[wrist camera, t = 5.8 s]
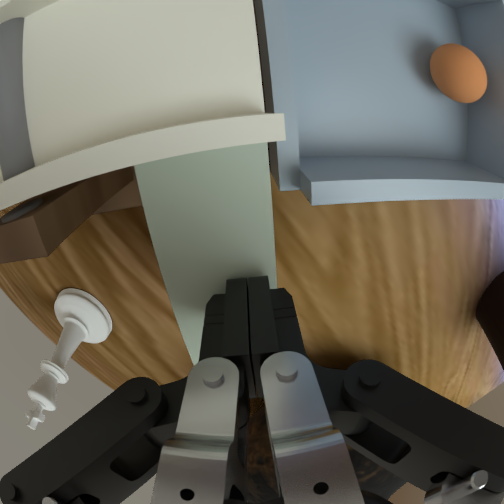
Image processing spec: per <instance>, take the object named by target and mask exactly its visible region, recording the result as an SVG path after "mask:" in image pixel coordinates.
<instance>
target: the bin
mask: <svg viewBox="0 0 504 504" xmlns="http://www.w3.org/2000/svg"><path fill="white" fill-rule="evenodd" d="M254 3H255V11H256V20H257V28H258V37H259V46H260V55H261V64H262V74H263V84H264V94H265V105H266V113H284V120H285V134H286V140H285V141H274V142H269V151H270V164H271V173H272V175H273V177H274V179H275V181H276V184H277V186H278V188H279V190H280V191H288V190H301V191H302V192H303V194H304V195H305V197H306V198H307V199H308V201H309V202H310V204H311V205H312V206H313V205H327V204H341V203H358V202H377V201H399V200H432V199H504V0H254ZM448 43H454V44H459V45H462V46H464V47H466V48H468V49H469V50H471V51H472V52H473V53H474V54H475V55H476V56H477V57H478V58H479V59H480V61H481V62H482V64H483V66H484V68H485V70H486V74H487V87H486V90H485V93H484V94H483V96H482V97H481V98H480V99H478V100H477V101H475V102H472V103H460V102H457V101H454V100H452V99H450V98H449V97H447V96H446V95H444V94H443V93H442V92H441V91H440V90H439V88H438V87H437V86H436V84H435V83H434V81H433V79H432V76H431V72H430V59H431V56H432V54H433V52H434V51H435V50H436V49H437V48H438V47H439V46H441V45H444V44H448Z"/></svg>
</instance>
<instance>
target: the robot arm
mask: <svg viewBox="0 0 504 504" xmlns="http://www.w3.org/2000/svg"><path fill="white" fill-rule="evenodd" d="M248 291H249V292H248ZM255 380H256V383H255ZM256 386H257V393H258V398H260V397H263V399H264V407H265V415H266V421H267V427H268V433H269V438H270V444H271V450H272V455H273V461H274V466H275V472H276V478H277V484H278V490H279V495H280V497H278V498H275V499H271V500H268V501H265V502H261V503H250V502H247V500H248V475H247V460H248V441H249V421H250V419H249V416H250V401H249V398H256ZM345 443H346V444H347V445H349V446H350V447H352V448H353V449H355V450H356V451H358V452H359V453H361V454H362V455H364V456H365V457H367V458H369V459H370V460H372V461H373V462H375V463H377V464H378V465H380V466H381V467H383V468H385V469H386V470H388V471H390V472H391V473H393V474H395V475H397V476H398V477H400V478H402V479H404V480H405V481H407V482H409V483H411V484H413V485H414V486H416V487H418V488H420V489H422V490H424V491H426V494H425V499H424V504H500V503H501V501H502V499H503V497H504V427H502V426H500V425H498V424H496V423H493V422H492V421H489V420H488V419H486V418H484V417H482V416H480V415H478V414H476V413H474V412H472V411H470V410H468V409H466V408H464V407H462V406H460V405H458V404H456V403H454V402H453V401H451V400H449V399H447V398H445V397H443V396H441V395H439V394H437V393H436V392H434V391H432V390H430V389H428V388H426V387H424V386H423V385H421V384H419V383H417V382H415V381H413V380H412V379H410V378H408V377H406V376H404V375H403V374H401V373H399V372H397V371H395V370H394V369H392V368H390V367H388V366H386V365H385V364H383V363H381V362H379V361H375V360H361V361H358V362H355V363H354V364H352V365H351V366H350V367H349V368H348V369H347V370H340V369H330V368H325V367H321V366H319V365H317V364H315V363H314V362H313V361H311V360H310V359H309V357H308V356H307V354H306V352H305V349H304V345H303V340H302V336H301V332H300V327H299V323H298V319H297V315H296V311H295V307H294V303H293V299H292V296H291V295H290V294H289V293H288V292H287V291H286V289H285V288H277V289H270V286H269V279H268V276H258V277H248V284H247V278H238V279H227V280H226V291H225V294H214V295H213V296H212V297H211V298H210V300H209V301H208V302H207V304H206V309H205V317H204V326H203V331H202V339H201V347H200V355H199V361H198V363H197V364H195V365H194V366H193V368H192V369H191V370H190V372H189V375H188V376H187V377H185V378H183V379H181V380H178V381H175V382H172V383H168V384H164V385H161V386H159V385H158V384H157V383H156V382H155V381H154V380H152V379H150V378H146V377H137V378H133V379H130V380H128V381H127V382H125V383H124V384H122V385H121V386H120V387H119V388H117V389H116V390H115V391H114V392H113V393H111V394H110V395H109V396H107V397H106V398H105V399H104V400H102V401H101V402H100V403H99V404H97V405H96V406H95V407H94V408H92V409H91V410H90V411H89V412H87V413H86V414H85V415H83V416H82V417H81V418H80V419H78V420H77V421H76V422H74V423H73V424H72V425H71V426H69V427H68V428H67V429H65V430H64V431H63V432H62V433H60V434H59V435H58V436H56V437H55V438H54V439H53V440H51V441H50V442H49V443H47V444H46V445H45V446H43V447H42V448H41V449H39V450H38V451H37V452H35V453H34V454H33V455H31V456H30V457H29V458H27V459H26V460H25V461H23V462H22V463H21V464H19V465H18V466H16V467H15V468H14V469H12V470H11V471H10V472H8V473H7V474H6V475H4V476H3V478H2V479H1V481H0V498H1V501H2V503H3V504H120V503H121V502H122V501H124V500H125V499H126V498H127V497H129V496H130V495H131V494H132V493H134V492H135V491H136V490H137V489H139V488H140V487H141V486H142V485H143V484H144V483H146V482H147V481H148V480H149V479H150V478H151V477H153V476H154V475H155V474H156V478H155V483H154V488H153V493H152V499H151V504H393V503H391V502H390V501H388V500H386V499H385V498H383V497H381V496H379V495H377V494H375V493H372V492H369V491H365V490H360V487H359V484H358V481H357V478H356V474H355V471H354V468H353V465H352V462H351V459H350V456H349V453H348V450H347V447H346V444H345Z"/></svg>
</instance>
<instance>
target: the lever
mask: <svg viewBox="0 0 504 504" xmlns="http://www.w3.org/2000/svg"><path fill="white" fill-rule="evenodd" d="M285 140H286V134H285V120H284V113H265V110H264V99H263V89H262V79H261V69H260V59H259V50H258V41H257V32H256V24H255V15H254V7H253V0H0V210H3V209H5V208H7V207H9V206H12V205H14V204H17V203H19V202H21V201H24V200H26V199H29V198H32V197H34V196H37V195H39V194H42V193H45V192H47V191H50V190H53V189H56V188H59V187H62V186H65V185H68V184H71V183H74V182H77V181H80V180H83V179H86V178H90V177H93V176H96V175H100V174H103V173H107V172H110V171H114V170H118V169H122V168H126V167H129V166H133V165H134V168H135V173H136V178H137V182H138V187H139V191H140V196H141V200H142V204H143V208H144V213H145V217H146V221H147V224H148V228H149V232H150V236H151V240H152V243H153V247H154V250H155V254H156V257H157V261H158V264H159V267H160V271H161V274H162V277H163V280H164V284H165V287H166V290H167V293H168V296H169V299H170V302H171V305H172V308H173V311H174V314H175V317H176V319H177V322H178V325H179V328H180V331H181V333H182V336H183V339H184V341H185V344H186V347H187V349H188V352H189V354H190V357H191V359H192V362H193V364H194V365H195V364H197V363H198V361H199V355H200V347H201V339H202V331H203V326H204V317H205V309H206V304H207V302H208V301H209V300H210V298H211V297H212V296H213V295H214V294H225V291H226V280H227V279H238V278H247V284H248V277H258V276H268V279H269V286H270V289H277V277H276V258H275V242H274V226H273V210H272V196H271V182H270V169H269V156H268V144H267V142H274V141H285ZM248 292H249V291H248Z"/></svg>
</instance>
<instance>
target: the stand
mask: <svg viewBox="0 0 504 504" xmlns="http://www.w3.org/2000/svg"><path fill="white" fill-rule="evenodd" d="M137 206H143V204H142V200H141V196H140V191H139V187H138V182H137V178H136V173H135V168H134V165H133V166H129V167H126V168H122V169H118V170H114V171H110V172H107V173H103V174H100V175H96V176H93V177H90V178H86V179H83V180H80V181H77V182H74V183H71V184H68V185H65V186H62V187H59V188H56V189H53V190H50V191H47V192H45V193H42V194H39V195H37V196H34V197H32V198H29V199H28V200H26V201H24V202H23V203H21V204H20V205H18V206H17V207H15V208H14V209H12V210H11V211H9V212H8V213H7V214H5V215H4V216H2V217H1V218H0V264H2V263H8V262H15V261H22V260H27V259H34V258H41V257H47V256H49V255H50V254H51V253H52V252H53V251H54V250H55V249H56V248H57V247H58V246H59V245H60V244H61V243H62V242H63V241H64V240H65V239H66V238H67V237H68V236H69V235H70V234H71V233H72V232H73V231H74V230H75V229H76V228H77V227H78V226H80V225H81V224H82V223H83V222H84V221H85V220H86V219H87V218H88V217H89V216H91V215H94V214H99V213H104V212H109V211H115V210H120V209H126V208H131V207H137Z"/></svg>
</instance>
